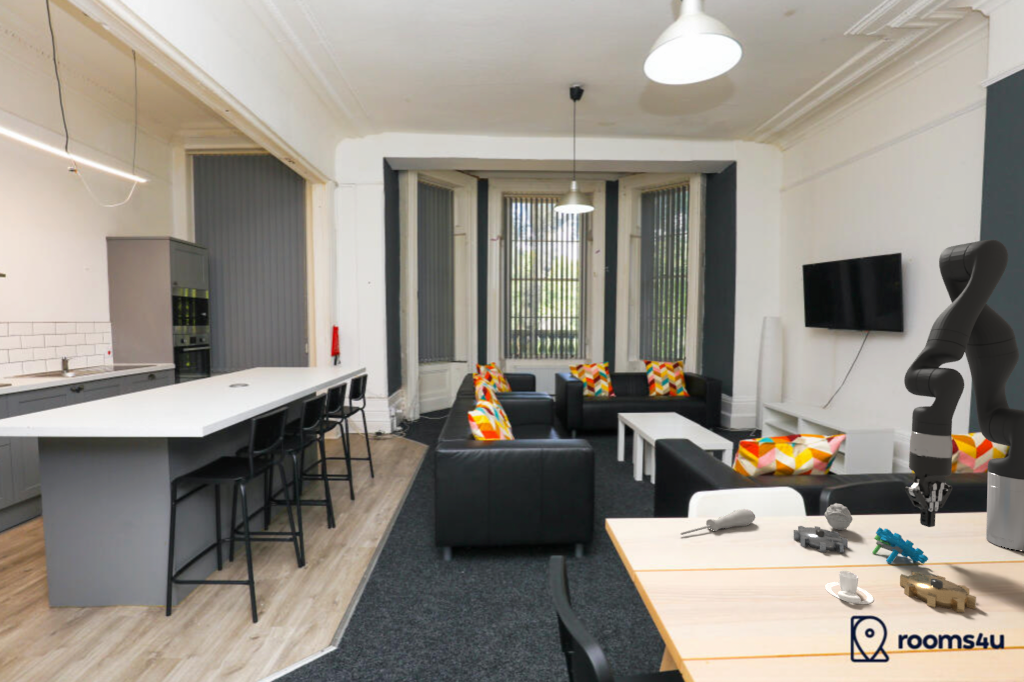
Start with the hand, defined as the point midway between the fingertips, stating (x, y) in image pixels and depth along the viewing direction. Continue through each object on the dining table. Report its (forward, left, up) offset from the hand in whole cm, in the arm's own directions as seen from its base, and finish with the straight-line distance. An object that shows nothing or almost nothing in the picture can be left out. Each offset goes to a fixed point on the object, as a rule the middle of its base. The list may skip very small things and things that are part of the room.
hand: (927, 525), depth 113 cm
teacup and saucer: (+37, +5, -7) cm, 38 cm away
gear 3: (+19, +13, -7) cm, 24 cm away
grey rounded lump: (+7, -17, -7) cm, 19 cm away
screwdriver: (+37, -27, -7) cm, 46 cm away
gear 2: (+10, 0, -7) cm, 12 cm away
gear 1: (+19, -12, -7) cm, 23 cm away
